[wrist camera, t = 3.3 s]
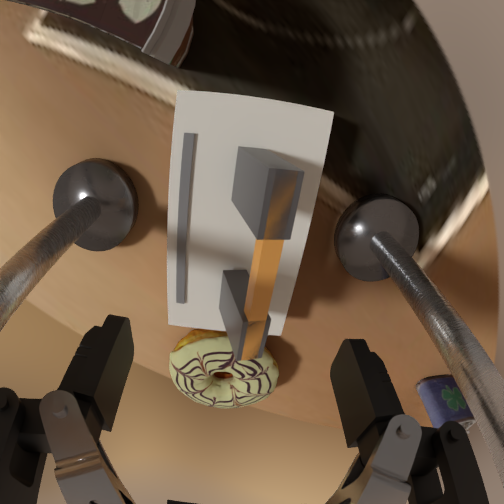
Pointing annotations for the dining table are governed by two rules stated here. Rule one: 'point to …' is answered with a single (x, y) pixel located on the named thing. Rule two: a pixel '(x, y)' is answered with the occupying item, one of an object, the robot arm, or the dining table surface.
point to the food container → (134, 22)
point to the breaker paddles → (258, 245)
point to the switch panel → (220, 192)
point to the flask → (444, 401)
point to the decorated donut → (220, 371)
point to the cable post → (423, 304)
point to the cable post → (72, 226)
